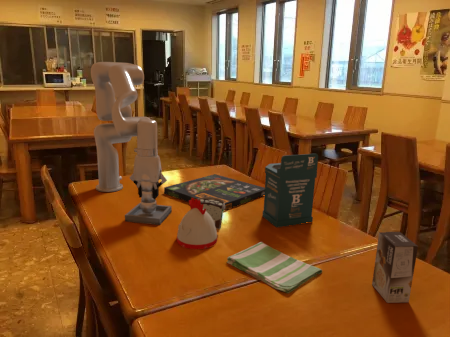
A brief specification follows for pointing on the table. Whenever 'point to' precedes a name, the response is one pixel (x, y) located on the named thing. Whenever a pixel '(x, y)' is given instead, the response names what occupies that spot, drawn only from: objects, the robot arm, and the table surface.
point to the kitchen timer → (197, 228)
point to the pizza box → (216, 190)
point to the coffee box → (394, 266)
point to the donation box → (290, 190)
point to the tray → (148, 215)
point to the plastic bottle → (147, 195)
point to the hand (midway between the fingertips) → (148, 196)
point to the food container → (214, 208)
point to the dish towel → (273, 267)
